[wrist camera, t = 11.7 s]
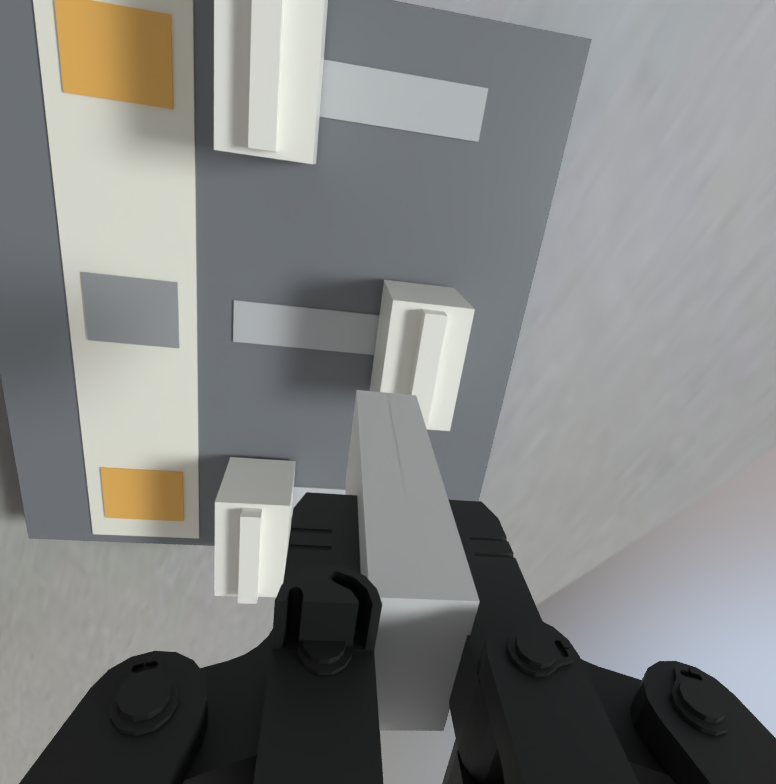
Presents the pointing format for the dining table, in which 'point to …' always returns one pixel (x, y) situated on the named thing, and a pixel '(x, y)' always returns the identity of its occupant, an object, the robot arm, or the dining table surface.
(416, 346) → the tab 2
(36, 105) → the switch bank
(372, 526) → the robot arm
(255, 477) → the white plastic block
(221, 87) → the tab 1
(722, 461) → the dining table surface
